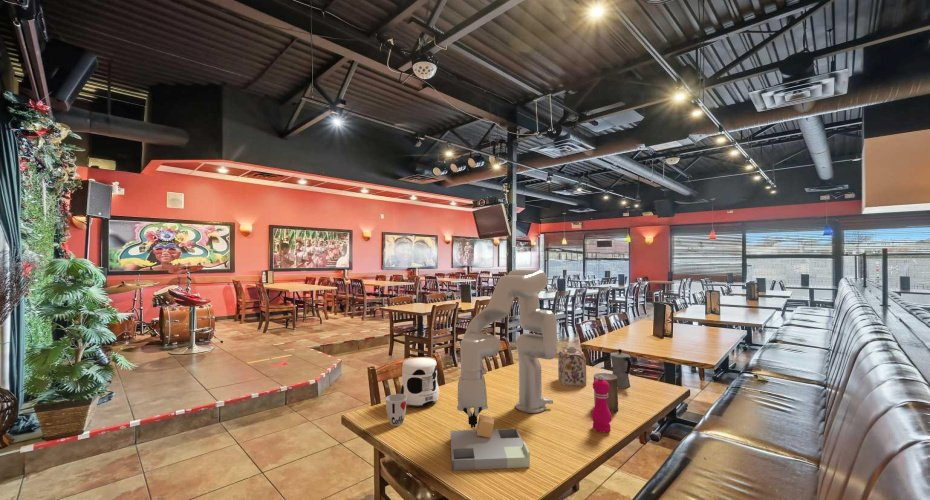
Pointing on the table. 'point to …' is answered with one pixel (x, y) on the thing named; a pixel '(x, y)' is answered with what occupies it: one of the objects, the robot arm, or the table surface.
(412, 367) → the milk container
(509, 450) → the grey sorting tray
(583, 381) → the decorative jar
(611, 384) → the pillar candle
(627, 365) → the coffeepot
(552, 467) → the table surface
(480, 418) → the block
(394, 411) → the cup
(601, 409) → the pepper mill
